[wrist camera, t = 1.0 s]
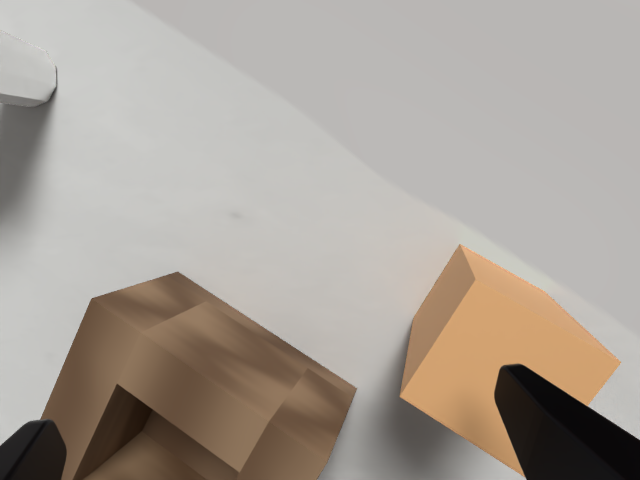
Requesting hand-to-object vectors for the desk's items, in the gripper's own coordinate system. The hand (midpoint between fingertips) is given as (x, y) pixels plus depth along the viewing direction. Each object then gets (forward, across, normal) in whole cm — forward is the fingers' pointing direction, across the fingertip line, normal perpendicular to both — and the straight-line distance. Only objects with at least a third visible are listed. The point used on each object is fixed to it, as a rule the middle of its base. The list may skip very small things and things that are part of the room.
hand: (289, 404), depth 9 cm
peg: (+8, -9, +5) cm, 13 cm away
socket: (+10, +4, +12) cm, 16 cm away
